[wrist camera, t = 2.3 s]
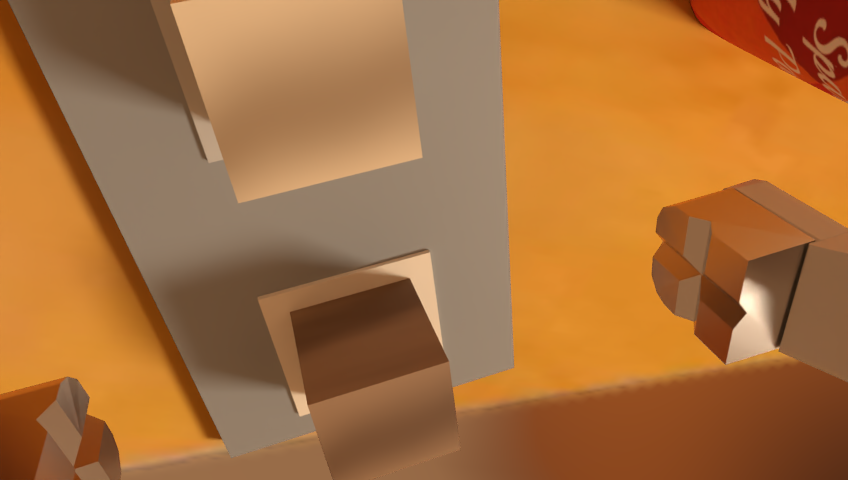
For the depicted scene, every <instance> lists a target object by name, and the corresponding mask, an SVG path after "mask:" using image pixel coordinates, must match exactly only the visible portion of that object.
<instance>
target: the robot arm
mask: <svg viewBox="0 0 848 480" xmlns="http://www.w3.org/2000/svg"><path fill="white" fill-rule="evenodd" d="M656 233H657V234H658V236H659V237H660V238H661V239H662V240H663V243H662V244H661V246H660V247H659V249H658V250H657V252H656V253H655V254H654V256H653V263H652V278H653V281H654V284H655V288H656V291H657V293H658V295H659V297H660V298H661V300H662V301H663V303H664V304H665V305H666V306H667V307H668V309H669V310H670V311H671V312H672V313H673V314H674V315H677V316H679V317H682V318H685V319H688V320H691V321H694V334H695V335H696V336H697V337H698V338H699V339H700V340H701V341H702V342H703V343H704V344H705V345H706V346H707V347H708V348H709V349H710V350H711V351H712V352H713V353H714V354H715V355H716V356H717V357H718V358H719V359H720V360H721V361H722V362H723V363H724V364H725V365H726V364H730V363H733V362H736V361H739V360H742V359H746V358H749V357H752V356H755V355H759V354H762V353H765V352H768V351H771V350H775V349H778V348H779V352H781V353H784V354H786V355H788V356H790V357H793V358H795V359H797V360H799V361H802V362H804V363H806V364H808V365H810V366H813V367H815V368H817V369H819V370H822V371H824V372H826V373H828V374H831V375H833V376H835V377H837V378H840V379H842V380H844V381H846V382H848V228H846V227H844V226H842V225H841V224H839V223H837V222H836V221H834V220H832V219H830V218H829V217H827V216H825V215H824V214H822V213H820V212H818V211H817V210H815V209H813V208H812V207H810V206H808V205H806V204H805V203H803V202H801V201H800V200H798V199H796V198H794V197H793V196H791V195H789V194H788V193H786V192H784V191H782V190H781V189H779V188H777V187H776V186H774V185H772V184H770V183H769V182H767V181H762V180H756V179H753V180H750V181H747V182H744V183H741V184H737V185H734V186H731V187H728V188H725V189H723V190H722V191H718V192H715V193H711V194H708V195H704V196H701V197H697V198H694V199H691V200H687V201H684V202H680V203H677V204H673V205H670V206H667V207H663V208H662V210H661V212H660V214H659V216H658V218H657V226H656ZM89 398H90V397H89V396H88V394H87V393H86V392H85V390H84V389H83V387H82V386H81V384H80V383H79V382H78V380H77V379H74V378H70V377H64V378H61V379H57V380H53V381H49V382H45V383H42V384H38V385H34V386H30V387H26V388H23V389H19V390H15V391H11V392H7V393H4V394H0V480H121V468H120V459H119V451H118V448H117V445H116V443H115V440H114V437H113V434H112V433H111V431H110V429H109V428H108V426H107V424H106V423H105V421H103V420H100V419H98V418H95V417H93V416H90V415H88V414H86V413H87V408H88V403H89Z"/></svg>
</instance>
